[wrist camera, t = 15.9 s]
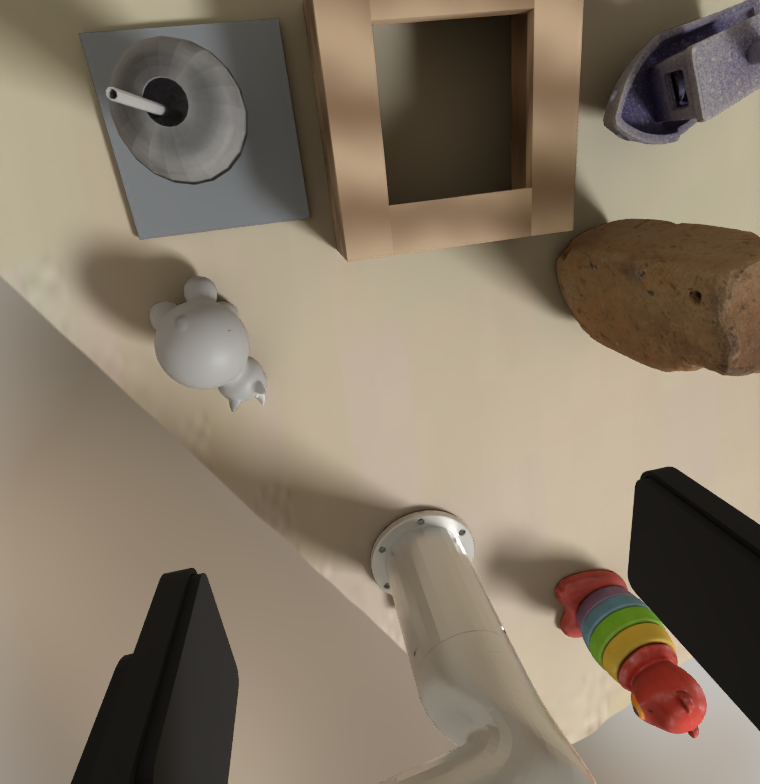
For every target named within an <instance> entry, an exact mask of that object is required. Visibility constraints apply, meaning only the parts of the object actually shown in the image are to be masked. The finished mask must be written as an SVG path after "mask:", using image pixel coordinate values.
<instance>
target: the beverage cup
mask: <svg viewBox="0 0 760 784" xmlns="http://www.w3.org/2000/svg"><path fill="white" fill-rule="evenodd" d="M106 96H107V97H108V98H109V105H110V113H111V116H112V119H113V121H114V124H115V126H116V129H117V131H118V134H119V136H120V137H121V139H122V141H123V142H124V143H125V145H126V146H127V147H128V149H129V150H130V152H131V153H132V154H133V156H134V157H135V158H136V160H138V161H139V162H140V163H141V164H143V165H144V166H145V167H146V168H147V169H149V170H150V171H151V172H152V173H154V174H155V175H158V176H160V177H162V178H165V179H167V180H169V181H172V182H174V183H182V184H191V185H197V184H201V183H206V182H210V181H214V180H216V179H217V178H219V177H220V176H222V175H223V174H225V173H226V172H228V171H229V170H230V169H231V168H232V167H233V165H234V164H235V163H236V161H237V160H238V158H239V157H240V156H241V154H242V151H243V148H244V145H245V142H246V138H247V135H248V112H247V108H246V105H245V101H244V98H243V94H242V91H241V89H240V87H239V85H238V84H237V82H236V80H235V78H234V77H233V75H232V73H231V72H230V70H229V69H228V68H227V67H226V66H225V65H224V64H223V63H222V62H221V61H220V60H219V59H218V58H217V57H216V56H215V55H214V54H213V53H212V52H211V51H209V50H207V49H205V48H203V47H201V46H199V45H197V44H195V43H193V42H191V41H189V40H185V39H180V38H174V37H168V36H157V37H152V38H147V39H142V40H140V41H138V42H137V43H136V44H134V45H133V46H131V47H130V48H128V49H127V50H125V51H124V52H123V54H122V55H121V57H120V58H119V60H118V61H117V63H116V64H115V66H114V68H113V70H112V75H111V79H110V83H109V87H108V88H107V89H106Z"/></svg>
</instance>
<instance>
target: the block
mask: <svg viewBox="0 0 760 784" xmlns="http://www.w3.org/2000/svg"><path fill="white" fill-rule="evenodd" d="M556 268H557V277H558V281H559V286H560V289H561V293H562V295H563V297H564V299H565V302H566V304H567V305H568V306H569V307H570V308H571V311H572V314H573V316H574V317H575V319H576V320H577V321H578V323H579V324H580V326H581V327H582V329H583V330H584V331H585V332H587V333H588V334H589V335H590V337H591V338H593V339H594V340H596V341H597V342H599V343H601V344H602V345H604V346H606V347H608V348H610V349H613V350H615V351H616V352H618V353H620V354H622V355H625V356H627V357H629V358H631V359H633V360H635V361H637V362H639V363H642V364H644V365H646V366H649V367H651V368H655V369H658V370H661V371H664V372H673V371H695V370H699V369H701V368H703V367H704V368H706V369H708V370H711V371H715V372H717V373H719V374H721V375H728V376H744V375H749V374H751V373H760V237H759V236H757V235H756V234H754V233H752V232H747V231H741V230H737V229H729V228H723V227H717V226H710V225H702V224H687V223H681V224H675V223H672V222H669V221H663V220H651V219H624V220H617V221H612V222H609V223H606V224H603V225H600V226H597V227H595V228H592V229H590V230H588V231H585V232H583V233H581V234H580V235H578V236H577V237H575V238H574V239H573V240H572V241H571V243H570V245H569V246H568V248H567V249H566V250H565V251H564V252H563V253H562V254H561V256H560V257H559V258H558V260H557V266H556Z"/></svg>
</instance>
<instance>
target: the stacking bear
mask: <svg viewBox="0 0 760 784" xmlns="http://www.w3.org/2000/svg"><path fill="white" fill-rule="evenodd" d="M555 595H556V597H557V599H558V600H559V601H560V602H561V603H563V604H564V607H565V613H564V616H563V618H562V620H561V622H560V626H561V629H562V631H563V632H564V634H565V635H567V636H569V637H572V638H579V637H583V639H584V641H585V644H586V646H587V647H588V649H589V651H590V652H591V654H592V656H593V657H594V659H595V660H596V661H597V662H598V664H599V665H600V666H601V667H602V668H603V669H604V670H606V671H607V672H608V673H609V675H610V676H611V677H612V678H614V679H615V680H616V681H617V682H618V683H619V684H621V686H622V687H623V688H624V689H626V690H628V691H630V692H631V701H632V705H633V709H634V712H635V713H636V714H637V716H638V717H639V718H641V719H642V720H643V721H645V722H647V723H649V724H651V725H653V726H656V727H658V728H660V729H663V730H665V731H667V732H670V733H675V734H682V733H686V732H688V733H689V735H690V736H691V737H692V738H696V737H697V736H698V734H699V729H698V725H699V724H700V723H701V722H702V720H703V718H704V716H705V714H706V707H707V704H706V698H705V695H704V693H703V691H702V689H701V687H700V685H699V684H698V683H697V682H696V681H695V679H694V678H693V677H692V676H691V675H690V674H688V673H687V672H686V671H685V670H683V669H682V668H680V667H679V666H677V664H678V663H677V656H676V649H675V646H674V644H673V642H672V640H671V638H670V636H669V635H668V633H667V632H666V630H665V628H664V626H663V624H662V623H661V621H660V620H659V618H658V617H657V616H656V615H655V614H654V613H653V612H652V611H651V609H650V608H649V607H648V606H647V605H646V604H645V603H643V602H642V601H641V600H640V599H638V598H636V597H635V596H634V595H633V594H631V593H630V592H629V591H628V589H627V586H626V584H625V582H624V581H623V579H622V578H621V577H620V576H619V575H617V574H616V573H613V572H609V571H598V570H597V571H586V572H581V573H578V574H574V575H572V576H569V577H567V578H565V579H563V580H561V581H560V583H559V584H558V585H557V587H556V593H555Z"/></svg>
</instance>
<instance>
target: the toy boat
mask: <svg viewBox="0 0 760 784" xmlns="http://www.w3.org/2000/svg"><path fill="white" fill-rule="evenodd" d="M759 88H760V0H747V1H744V2H742V3H740V4H737V5H734V6H732V7H730V8H727V9H725V10H722V11H720V12H717V13H714V14H712V15H709V16H707V17H703V18H701V19H698V20H695V21H692V22H690V23H687V24H683V25H680V26H677V27H674V28H671V29H668V30H665V31H663V32H661V33H659V34H657V35H656V36H654V37H653V38H652V39H651V41H650V42H649V43H648V44H646V45H645V46H644V47H643V48H642V49H641V50H640V51H639V52H638V53H637V54H636V56H635V57H634V58H633V59H632V60H631V62H630V63H629V64H628V65H627V67H626V68H625V70H624V71H623V73H622V74H621V76H620V78H619V79H618V81H617V83H616V85H615V87H614V89H613V91H612V93H611V96H610V98H609V101H608V104H607V107H606V111H605V114H604V118H603V122H604V126H606V127H607V128H608V129H609V130H610V131H612V132H613V133H614V134H615V135H617V136H618V137H620V138H622V139H625V140H627V141H636V142H640V143H644V144H666V143H671V142H676V141H677V140H679V137H680V135H681V134H682V133H684V132H685V131H686V130H688V129H689V128H690V127H691V126H693V125H694V124H695V123H696V122H704V121H707V120H709V119H711V118H713V117H714V116H716V115H718V114H719V113H721V112H722V111H723V110H725V109H727V108H729V107H730V106H732V105H733V104H735V103H736V102H738V101H740V100H741V99H743V98H744V97H746V96H748V95H749V94H751V93H753V92H754V91H755V90H757V89H759Z"/></svg>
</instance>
